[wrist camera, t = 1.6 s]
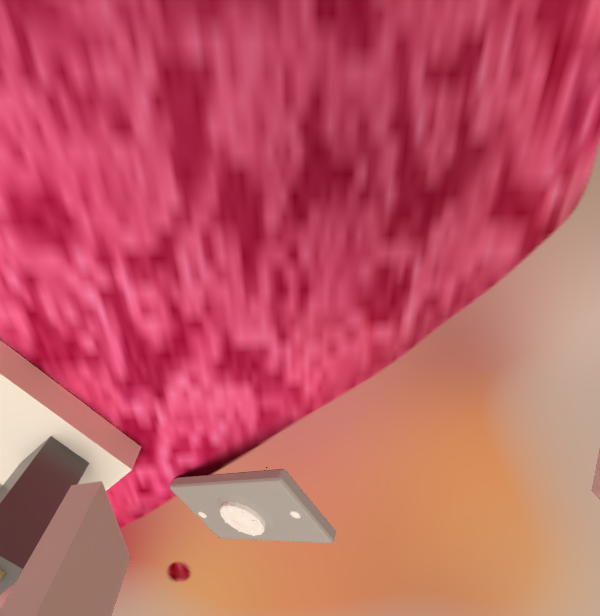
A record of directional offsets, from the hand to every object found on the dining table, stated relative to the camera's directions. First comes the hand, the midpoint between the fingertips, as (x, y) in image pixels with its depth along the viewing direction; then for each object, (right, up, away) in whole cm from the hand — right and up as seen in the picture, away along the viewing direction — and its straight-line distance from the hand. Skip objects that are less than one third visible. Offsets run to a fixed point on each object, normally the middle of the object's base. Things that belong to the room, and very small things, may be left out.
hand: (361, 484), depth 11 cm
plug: (-23, -9, +25) cm, 35 cm away
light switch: (-7, -12, +31) cm, 34 cm away
